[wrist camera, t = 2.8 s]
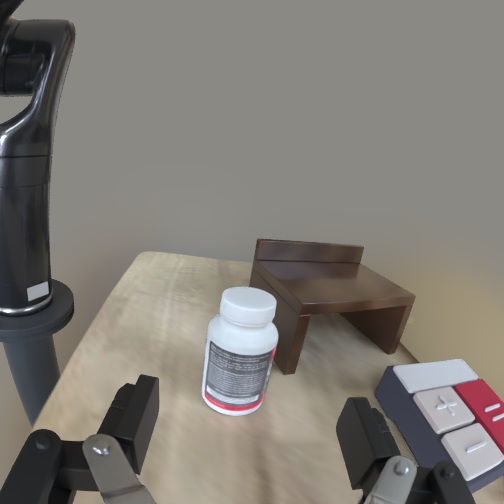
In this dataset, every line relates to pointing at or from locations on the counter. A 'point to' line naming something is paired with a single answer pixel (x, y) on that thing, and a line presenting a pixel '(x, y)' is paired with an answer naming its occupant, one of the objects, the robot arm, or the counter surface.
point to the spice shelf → (326, 293)
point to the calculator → (447, 417)
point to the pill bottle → (239, 351)
